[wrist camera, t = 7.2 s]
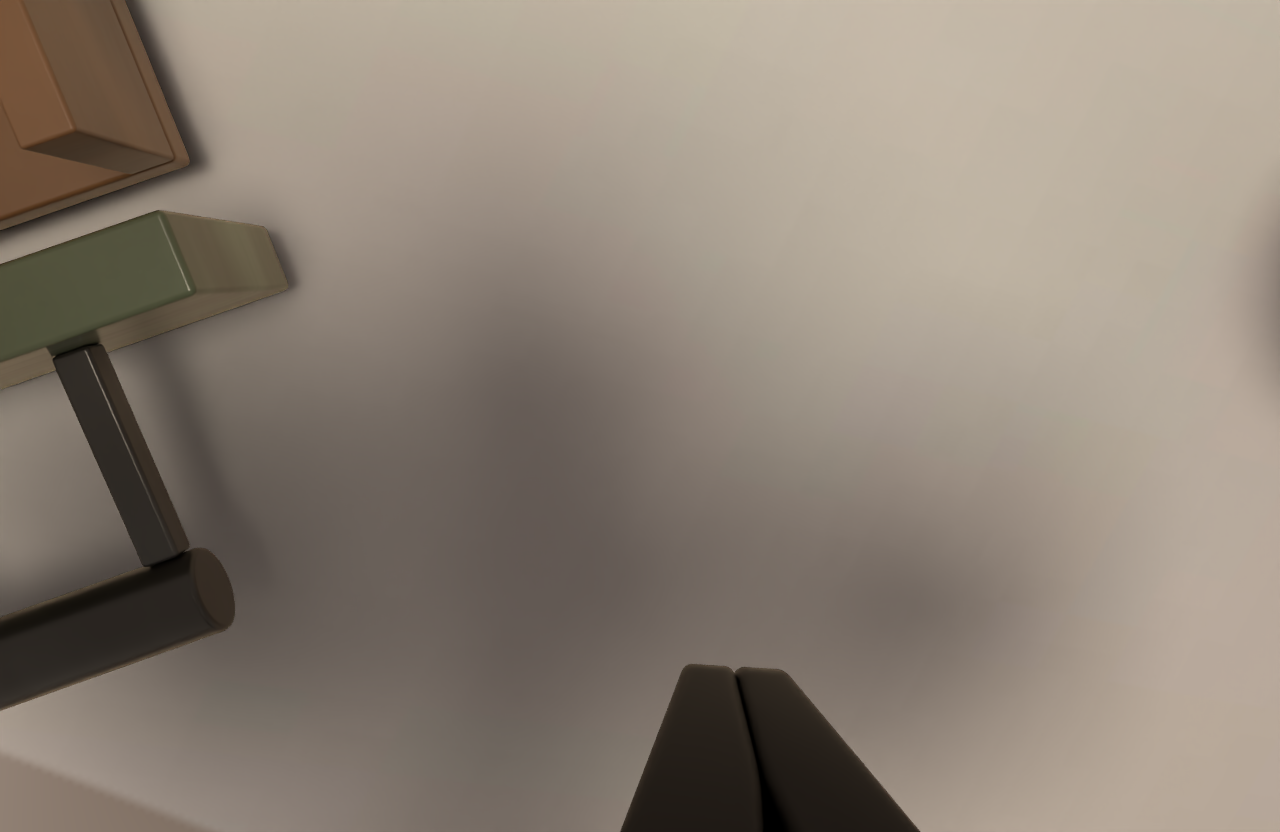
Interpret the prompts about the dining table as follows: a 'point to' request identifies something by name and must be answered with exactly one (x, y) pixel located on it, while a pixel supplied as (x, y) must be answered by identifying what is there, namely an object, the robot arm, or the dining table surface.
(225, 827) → the dining table surface
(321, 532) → the dining table surface
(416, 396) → the dining table surface
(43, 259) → the drawer
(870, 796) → the robot arm
